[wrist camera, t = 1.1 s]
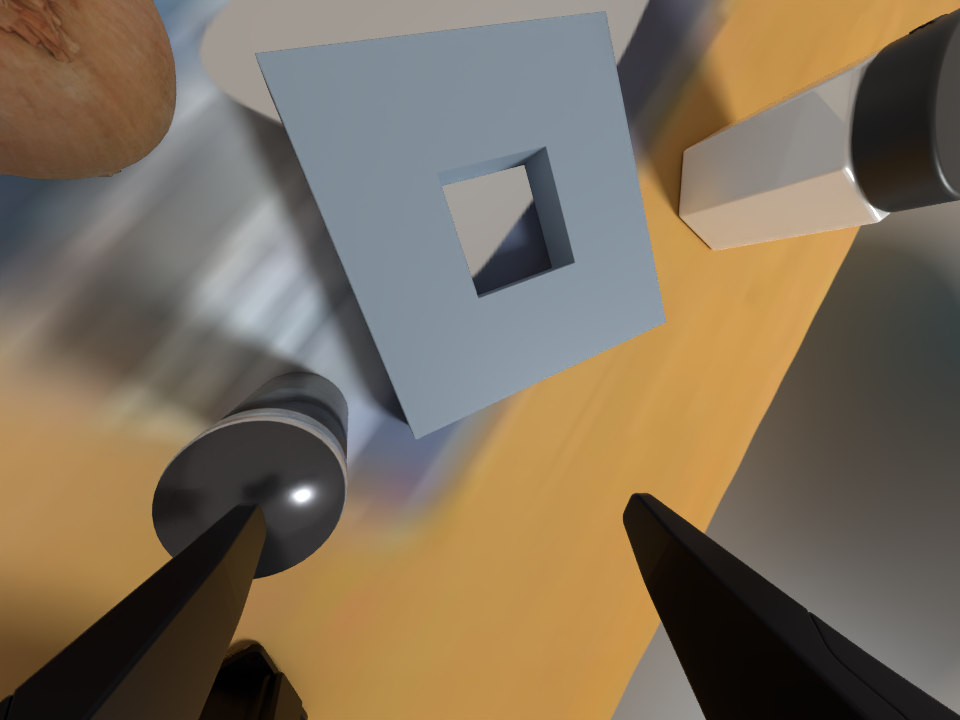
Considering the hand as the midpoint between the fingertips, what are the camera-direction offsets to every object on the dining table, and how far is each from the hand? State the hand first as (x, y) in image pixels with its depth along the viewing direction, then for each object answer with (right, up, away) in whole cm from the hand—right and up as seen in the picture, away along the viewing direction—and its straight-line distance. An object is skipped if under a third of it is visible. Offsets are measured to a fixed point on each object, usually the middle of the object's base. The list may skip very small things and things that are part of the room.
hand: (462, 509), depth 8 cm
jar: (+19, +17, +18) cm, 31 cm away
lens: (-9, +1, +10) cm, 14 cm away
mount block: (+1, +11, +12) cm, 17 cm away
